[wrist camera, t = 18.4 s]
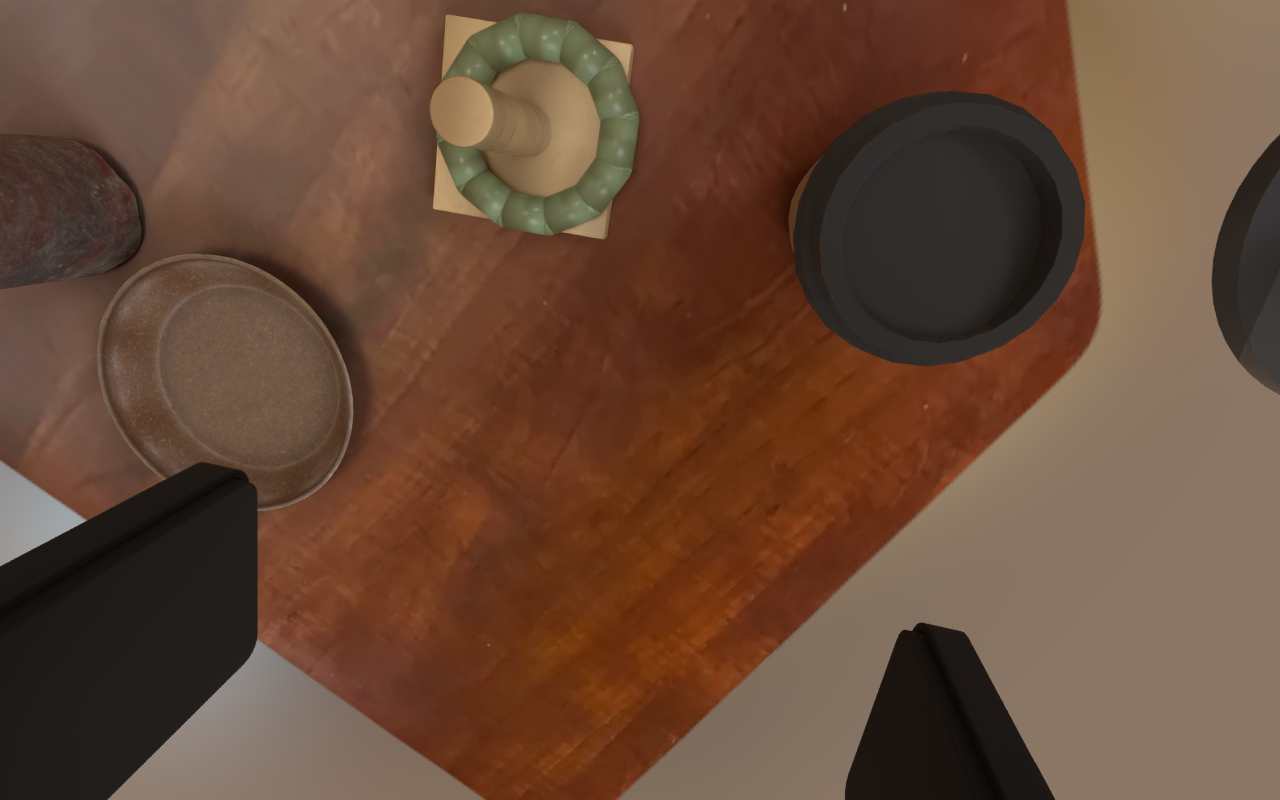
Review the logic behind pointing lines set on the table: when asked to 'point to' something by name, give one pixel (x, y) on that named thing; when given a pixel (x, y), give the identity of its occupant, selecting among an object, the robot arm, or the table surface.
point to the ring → (610, 98)
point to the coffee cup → (937, 227)
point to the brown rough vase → (61, 212)
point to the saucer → (225, 376)
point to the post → (519, 124)
